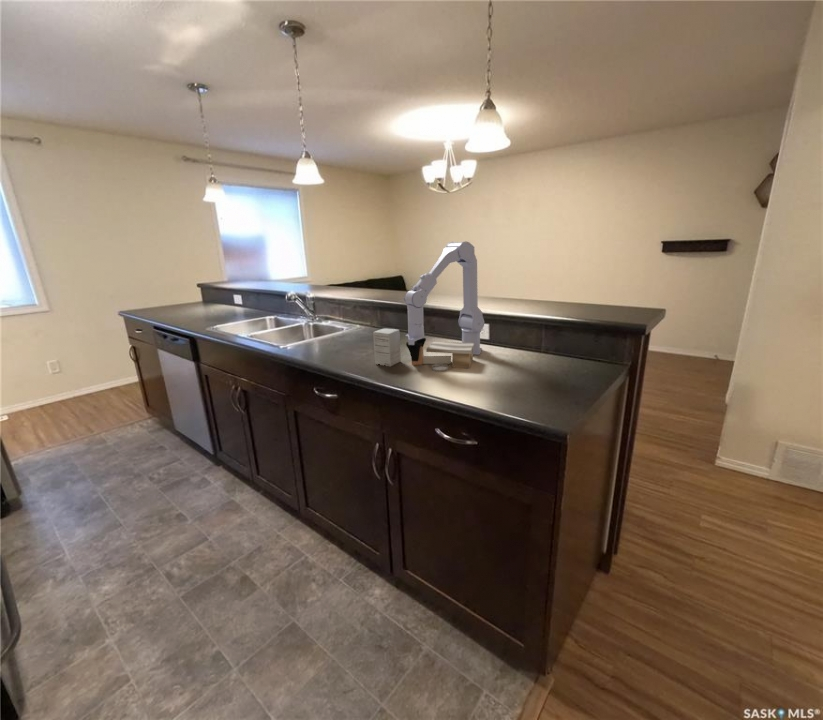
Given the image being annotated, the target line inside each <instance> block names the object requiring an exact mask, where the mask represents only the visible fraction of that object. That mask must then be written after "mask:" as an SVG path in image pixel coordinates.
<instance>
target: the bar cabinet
mask: <svg viewBox="0 0 823 720" xmlns="http://www.w3.org/2000/svg"><path fill="white" fill-rule="evenodd" d="M473 348H474V343H462V342H459V341H457V342H456V341H455V342H453V341H452V342H451V341H432V342H431V343H430V344H429V345H428V346H427V347H426V353H439V354H440V353H442V354H452V355H451V363H452V366H451V367H452V368H454V369H470V367H471V365H472V363H473V360H474V358H473V357H474V355H473Z"/></svg>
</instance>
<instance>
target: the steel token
mask: <svg viewBox="0 0 823 720" xmlns="http://www.w3.org/2000/svg"><path fill="white" fill-rule="evenodd" d="M449 367H450V366H449V363H447V364H444V363H437V364H431V370H432V371H434V372H440V373H441V372H447V371H449V369H450V368H449Z"/></svg>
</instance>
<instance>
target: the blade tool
mask: <svg viewBox="0 0 823 720" xmlns="http://www.w3.org/2000/svg"><path fill="white" fill-rule="evenodd" d="M410 361H411V366H414V365H415V366H416V365H418V366H420V365H421V366H422V365H425V364H426V365H427V364H428V365H429V364H430V365H433V364H437V363H444V364H451V363H452V355H424V346H421V347H420V351H419V359H418V361H412V358H410Z"/></svg>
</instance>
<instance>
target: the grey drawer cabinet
mask: <svg viewBox="0 0 823 720" xmlns="http://www.w3.org/2000/svg"><path fill="white" fill-rule="evenodd" d="M372 334H373V335H372V336H373V337H372V338H373V351H374V353H373V354H374V363H375V365H378V364H380V365H379V366H384V365H386V367H392V366H394V365H396V364H398V363H401V362H402V360H401V359H402V357H401V337H400V329H397V328H396V329H395V328H387V327H385V328H380V329H378V330H375V331H373V332H372Z"/></svg>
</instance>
